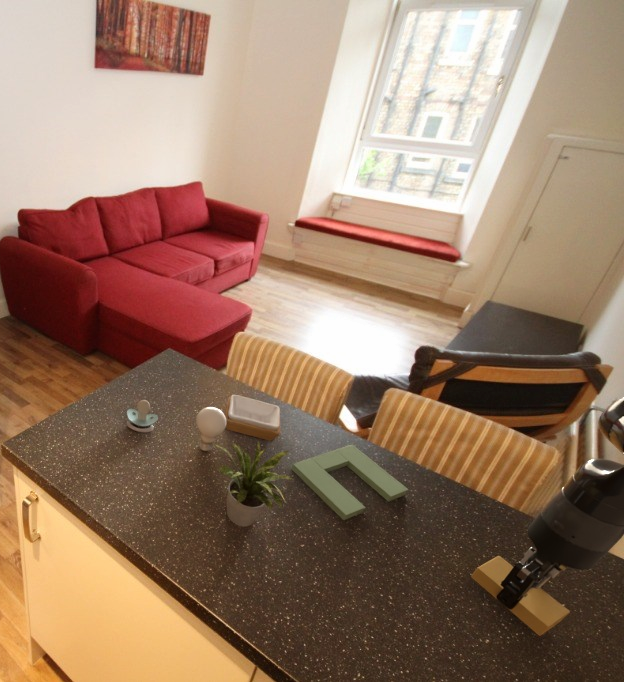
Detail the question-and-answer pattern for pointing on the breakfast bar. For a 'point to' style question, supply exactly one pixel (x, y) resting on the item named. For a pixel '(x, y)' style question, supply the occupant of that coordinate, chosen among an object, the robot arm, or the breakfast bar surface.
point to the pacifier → (141, 417)
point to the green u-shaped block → (333, 492)
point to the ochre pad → (532, 609)
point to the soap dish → (252, 417)
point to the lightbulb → (210, 426)
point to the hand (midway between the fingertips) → (516, 595)
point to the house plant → (251, 486)
